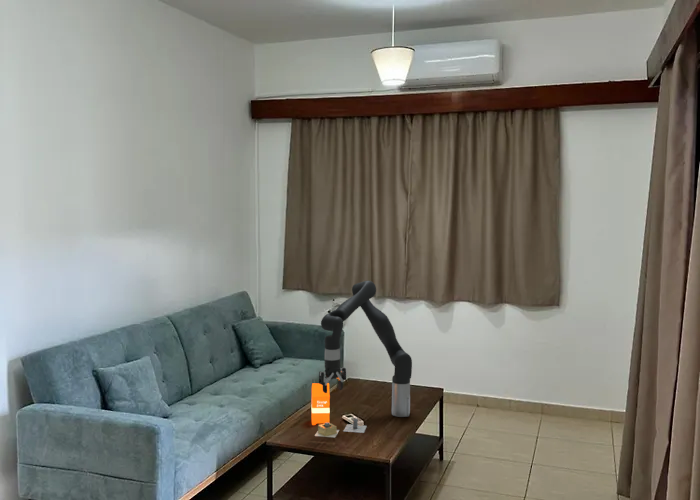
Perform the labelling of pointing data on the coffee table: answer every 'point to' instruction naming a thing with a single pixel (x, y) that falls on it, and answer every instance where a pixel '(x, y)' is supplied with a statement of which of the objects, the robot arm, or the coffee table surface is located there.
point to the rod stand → (355, 427)
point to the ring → (327, 429)
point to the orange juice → (320, 404)
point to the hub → (329, 435)
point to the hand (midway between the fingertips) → (332, 391)
